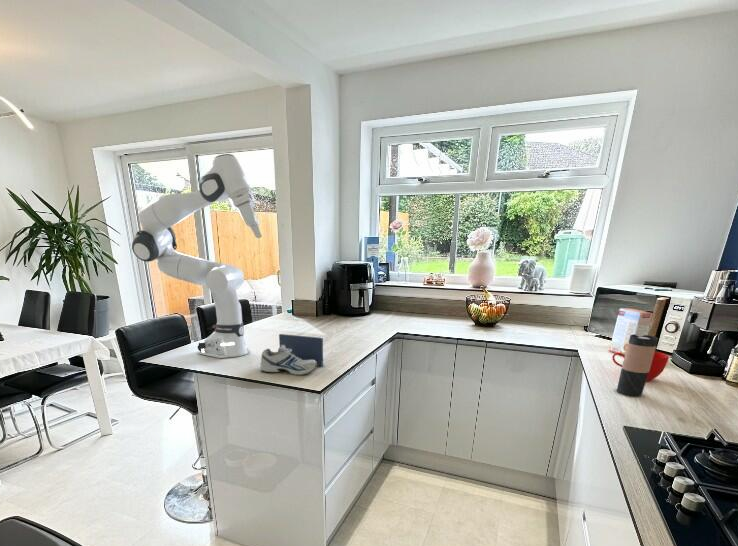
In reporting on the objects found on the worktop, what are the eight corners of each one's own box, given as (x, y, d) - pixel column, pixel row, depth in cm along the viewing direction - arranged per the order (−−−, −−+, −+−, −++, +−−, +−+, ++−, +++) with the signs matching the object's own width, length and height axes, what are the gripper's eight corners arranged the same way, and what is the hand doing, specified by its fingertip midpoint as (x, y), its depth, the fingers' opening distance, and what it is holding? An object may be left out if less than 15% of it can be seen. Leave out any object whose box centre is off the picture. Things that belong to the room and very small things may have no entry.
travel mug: (634, 398, 133) (650, 340, 126) (610, 391, 139) (625, 335, 133) (647, 394, 136) (663, 338, 130) (623, 388, 143) (637, 333, 136)
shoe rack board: (280, 361, 172) (279, 334, 168) (281, 360, 173) (280, 333, 169) (321, 366, 165) (321, 338, 161) (323, 365, 167) (323, 337, 163)
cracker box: (641, 359, 179) (654, 312, 172) (628, 359, 179) (640, 312, 172) (620, 351, 192) (632, 307, 185) (608, 351, 192) (619, 307, 185)
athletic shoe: (316, 375, 153) (316, 344, 152) (257, 375, 154) (256, 344, 153) (318, 373, 163) (317, 344, 162) (262, 373, 164) (262, 344, 163)
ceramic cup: (609, 369, 164) (614, 346, 160) (660, 377, 154) (668, 352, 151) (607, 377, 154) (613, 352, 150) (662, 386, 145) (670, 360, 141)
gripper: (238, 206, 158) (253, 240, 162) (231, 201, 138) (249, 240, 143) (252, 200, 157) (267, 234, 162) (248, 194, 138) (265, 233, 143)
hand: (259, 237), depth 153 cm, fingers open, 8 cm apart
